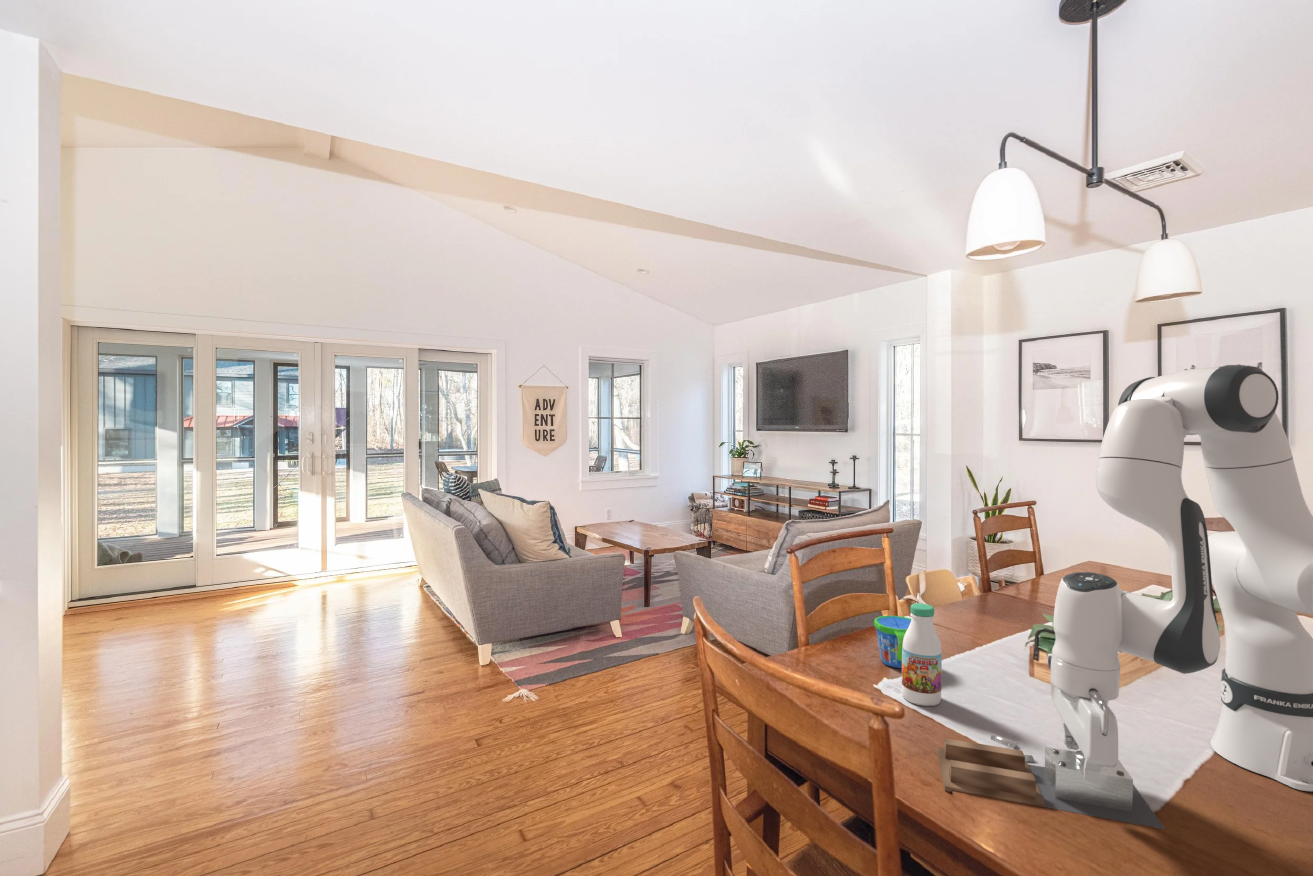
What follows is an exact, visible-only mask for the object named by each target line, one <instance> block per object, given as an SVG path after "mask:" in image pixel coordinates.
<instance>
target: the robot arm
mask: <svg viewBox="0 0 1313 876" xmlns="http://www.w3.org/2000/svg"><path fill="white" fill-rule="evenodd" d="M1278 405H1279V389H1278V387H1277V385H1276V383H1275V381H1274V380H1273V378H1272V377H1271V376H1270V375H1268V373H1266V372H1265V371H1264V370H1262V369H1261V368H1259V367H1257V366H1253V365H1244V364H1243V365H1242V364H1227V365H1223V366H1221V367H1220V366H1219V367H1218V366H1215V367H1199V368H1198V367H1197V368H1190V369H1183V370H1180V371H1177V372H1173V373H1169V374H1164V375H1160V376H1149V377H1146V378H1142V379H1140V380H1137V381H1134V382H1132V383H1130V384H1129V385H1127V387H1126V388H1125V389H1124V390H1123V392H1122V393H1121V395H1120V398H1119V400H1118V404H1117V406H1116V407H1115V409H1114V410H1113V412H1112V413H1111V416H1110V418H1109V420H1108V422H1107V425H1106V428H1105V431H1104V434H1103V437H1102V441H1101V443H1100V449H1099V454H1098V458H1097V465H1096V472H1095V474H1096V475H1095V486H1096V490H1097V492H1098V494H1099V495H1100V497H1101V499H1102V500H1103V502H1105V503H1106V504H1107V505H1108V506H1109V507H1110V508H1112V509H1113V510H1115V511H1116V512H1118V513H1119V514H1121V515H1123V516H1125V517H1127V518H1129V519H1131V520H1134V521H1135V522H1138V523H1140V524H1141V525H1144V526H1146V527H1148V528H1150V529H1152V530H1153V531H1154V532H1156V533H1157V534H1158V535H1160V536H1161V537H1162V539H1163V540H1164V541H1165V543H1166V545H1167V546H1168V547H1167V548H1168V550H1169V557H1170V574H1171V588H1172V589H1171V592H1172V599H1170V600H1165V599H1164V600H1163V599H1158V598H1155V597H1151V596H1146V595H1142V594H1137V593H1132V592H1130V591H1126V590H1123V589H1120V584H1119V583H1118V581H1117V580H1115V578H1113V577H1111V576H1109V575H1105V574H1102V573H1098V572H1091V571H1085V572H1084V571H1083V572H1081V571H1080V572H1079V571H1077V572H1071V573H1069V574H1065V575H1064V576H1062V578H1061V580H1060V582H1059V585H1058V588H1057V592H1056V597H1055V601H1054V603H1055V604H1054V609H1053V621H1052V622H1053V625H1052V626H1053V630H1054V635H1055V640H1054V643H1053V644H1054V645H1053V646H1052V649H1051V653H1048V654H1047V661H1046V662H1047V666H1048V668H1049V670H1050V692H1051V693H1050V694H1051V695H1050V696H1051V700H1052V701H1051V702H1052V704H1053V707H1054V708H1055V710H1056V711H1057V713H1058V715H1059V716H1060V718H1061V724H1062V729H1063V734H1064V735H1063V743H1064V745H1065V747H1067V750H1068V749H1069V750H1072V751H1079V750H1080V751H1082V753H1083V754H1084V758H1085V762H1084V764H1082V775H1083V776H1084V778H1085V780H1086V781H1089V782H1094V783H1097V782H1098V781H1099V772H1100V770H1101V768H1102V766H1106V767H1115V766H1116V765H1117V763H1118V760H1119V728H1118V727H1119V726H1118V720H1117V717H1116V714H1115V713H1114V712H1113V710H1112V709H1111V708H1110V706H1109V701H1114V700H1117V699H1118V698H1119V696H1120V682H1121V681H1120V679H1121V661H1120V658H1119V652H1121V653H1124V654H1128V655H1131V656H1134V657H1138V658H1141V659H1144V660H1148V661H1150V662H1154V663H1155V664H1157V665H1159V666H1162V667H1165V668H1168V669H1170V670H1172V671H1175V672H1178V673H1181V674H1183V675H1185V674H1187V675H1188V674H1192V673H1197V672H1199V671H1200V672H1201V671H1202V670H1205V669H1208V668H1209V667H1212V666H1213V665H1215V663H1216V662H1217V660H1218V659H1219V655H1220V649H1221V639H1220V637H1221V636H1220V631H1219V625H1218V621H1217V614H1216V609H1215V603H1214V602H1215V601H1214V595H1213V594H1214V593H1213V591H1214V592H1215V595H1216V598H1217V601H1218V604H1219V607H1220V611H1221V614H1222V619H1223V623H1224V628H1225V629H1224V631H1225V663H1224V665H1225V668H1223V669H1222V670H1221V678H1220V700H1221V702H1222V703H1221V708H1220V709H1221V710H1220V715H1219V719H1218V723H1217V725H1216V728H1215V730H1214V734H1213V736H1212V737H1211V740H1210V741H1209V744H1210V747H1211V748H1212V749H1213V751H1215V752H1216V754H1219V755H1220V756H1221V757H1222V758H1224V759H1225V760H1227V761H1229V762H1231V763H1233V764H1236V765H1237V766H1239V767H1240V768H1243V769H1246V770H1248V771H1251V772H1254V773H1256V774H1260V775H1262V776H1266V777H1268V778H1271V779H1272V780H1276V781H1277V782H1279V783H1281V784H1284V785H1287V787H1290V788H1292V789H1295V790H1299V791H1305V792H1313V636H1312V635H1311V634H1310V633H1309V631H1307V629H1306V628H1305V627H1304V625H1303V624H1302V622H1301V620H1300V619H1299V616H1298V613H1301V614H1304V615H1305V614H1307V615H1312V616H1313V514H1312V513H1311V511H1310V509H1309V507H1308V505H1307V502H1306V500H1305V497H1304V494H1303V491H1302V487H1301V484H1300V481H1299V477H1298V473H1297V469H1296V466H1295V465H1296V464H1295V462H1294V457H1293V453H1292V449H1291V445H1290V442H1289V439H1288V437H1287V434H1286V432H1285V429H1284V427H1283V425H1282V423H1281V421H1280V419H1279V417H1278V415H1277V413H1276V411H1277V408H1278ZM1196 435H1198V436H1199V438H1200V447H1201V454H1202V459H1203V464H1204V469H1205V473H1206V477H1207V482H1208V485H1209V490H1210V495H1211V498H1212V503H1213V506H1214V508H1215V509H1216V511H1217V513H1219V515H1220V516H1222V517H1223V518H1224V519H1225V520H1226V521H1227V522H1228V523H1229V524H1230V526H1231V527H1232V528H1233V529H1234V531H1233V530H1232V531H1219V532H1215V533H1211V534H1210V535H1208V528H1207V522H1206V517H1205V515H1204V512H1203V510H1202V508H1201V505H1200V504H1199V503H1198V502H1196V501H1194V500H1192V499H1191V498H1189V496H1188V495H1187V493H1186V490H1185V488H1184V484H1183V480H1182V479H1183V478H1182V471H1183V463H1184V454H1185V453H1184V451H1185V445H1184V444H1185V438H1186V437H1187V436H1196Z"/></svg>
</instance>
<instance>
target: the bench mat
mask: <svg viewBox="0 0 1313 876" xmlns="http://www.w3.org/2000/svg"><path fill="white" fill-rule="evenodd" d="M1027 764H1028V763H1027ZM1028 767H1029V769H1030V771H1031V773H1032V774H1033V775H1034V778H1035V780H1036V784H1037V786H1038V789H1039V791H1040V793H1041V795H1042V797H1043V799H1044V802H1045V804H1046V807H1045V808H1047V809H1052V810H1058V811H1063V812H1068V813H1069V812H1070V813H1073V814H1074V813H1075V814H1078V815H1079V814H1080V815H1084V816H1091V817H1096V818H1101V819H1107V820H1111V821H1116V822H1123V823H1127V824H1128V823H1129V824H1133V825H1138V826H1143V827H1144V826H1145V827H1150V828H1155V829H1160V830H1166V827H1165V826H1164V824H1163V823H1162V822H1161V821H1160V819H1159V818H1158V817H1157V815H1156V813H1154V811H1153V809H1151V807H1150V806H1149V804H1148V803H1147V801H1146V799H1145V798H1144V797H1143V795H1142V794H1141V793H1140V792H1139V790H1138V789H1137V787H1136V786H1135V784H1133V798H1132V812H1130V811H1124V810H1119V809H1113V808H1108V807H1102V806H1097V805H1091V804H1085V803H1080V802H1074V801H1069V800H1063V799H1058V798H1055V797H1054V795H1053V793H1052V790H1051V788H1050V786H1049V784H1048V782H1047V780H1046V778H1045V766H1039V765H1034V764H1028ZM1041 807H1042V806H1040V808H1041ZM1042 808H1043V807H1042Z"/></svg>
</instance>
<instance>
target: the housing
mask: <svg viewBox="0 0 1313 876" xmlns="http://www.w3.org/2000/svg"><path fill="white" fill-rule="evenodd" d="M1084 762H1085V758H1084V754H1083V753H1082V751H1081V750H1070V749H1069V750H1068V749H1062V748H1055V747H1048V746H1045V749H1044V767H1045V778H1046V780H1047V782H1048V784H1049V786H1050V788H1051V790H1052V793H1053V795H1054V797H1055V798H1058V799H1063V800H1069V801H1074V802H1080V803H1085V804H1091V805H1097V806H1102V807H1108V808H1113V809H1119V810H1124V811H1130V812H1132V798H1133V785H1134V779H1133V778H1132V776H1131V775H1130V773H1129V772H1128V771H1127V769H1126V768H1125V766H1124V765H1123V764H1122V763H1121V761H1120V759H1118V763H1117V765H1116V766H1115V767H1106V766H1102V768H1101V770H1100V772H1099V781H1098V782H1097V783H1094V782H1089V781H1086V780H1085V778H1084V776H1083V775H1082V764H1084Z"/></svg>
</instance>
